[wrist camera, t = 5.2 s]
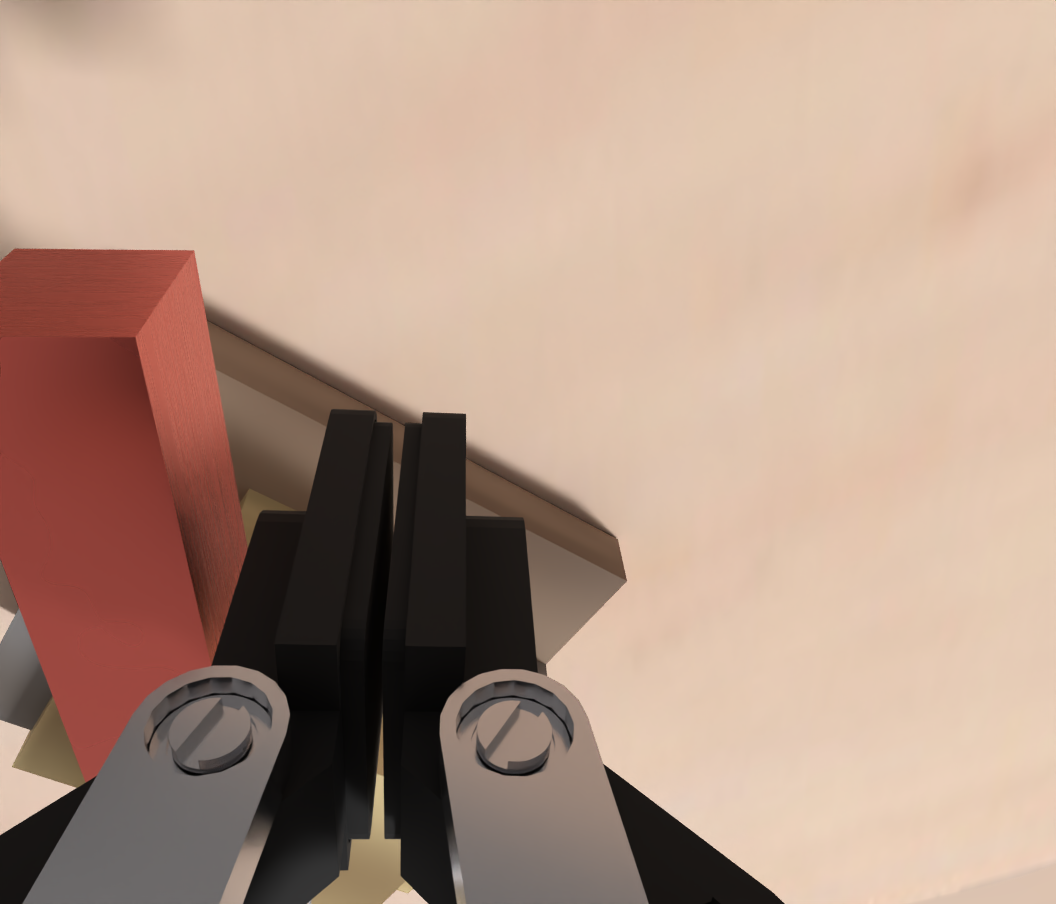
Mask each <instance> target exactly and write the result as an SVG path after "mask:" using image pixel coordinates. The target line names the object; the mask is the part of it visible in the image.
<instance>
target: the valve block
mask: <svg viewBox="0 0 1056 904" xmlns="http://www.w3.org/2000/svg"><path fill="white" fill-rule="evenodd" d="M207 325H208V330H209V336H210V342H211V347H212V353H213V358H214V364H215V369H216V375H217V380H218V386H219V391H220V397H221V402H222V408H223V414H224V419H225V425H226V430H227V436H228V441H229V447H230V452H231V458H232V463H233V469H234V474H235V480H236V485H237V491H238V497H239V502H240V508H241V513H242V519H243V524H244V530H245V535H246V541H247V546H249V543H250V540H251V537H252V533H253V530H254V527H255V524H256V521H257V518H258V516H259V514H260V512H261V511H263V510H281V511H306V510H307V506H308V502H309V498H310V494H311V489H312V485H313V481H314V477H315V473H316V469H317V465H318V461H319V456H320V452H321V448H322V444H323V440H324V436H325V432H326V427H327V423H328V419H329V415H330V412H331V409H351V410H374V409H372V408H370V407H368V406H366V405H364V404H363V403H361V402H359V401H357V400H355V399H353V398H351V397H349V396H348V395H346V394H344V393H342V392H340V391H338V390H336V389H334V388H333V387H331V386H329V385H327V384H325V383H323V382H321V381H319V380H318V379H316V378H314V377H312V376H310V375H308V374H306V373H304V372H303V371H301V370H299V369H297V368H295V367H293V366H291V365H289V364H288V363H286V362H284V361H282V360H280V359H278V358H276V357H274V356H272V355H271V354H269V353H267V352H265V351H263V350H261V349H259V348H257V347H256V346H254V345H252V344H250V343H248V342H246V341H244V340H242V339H241V338H239V337H237V336H235V335H233V334H231V333H229V332H227V331H226V330H224V329H222V328H220V327H218V326H216V325H214V324H212V323H211V322H209V321H207ZM376 413H377V422H392V423H393V502H394V525H395V516H396V506H397V497H398V487H399V478H400V468H401V459H402V449H403V440H404V430H405V426H404V425H402V424H400V423H398V422H396V421H394V420H393V419H391V418H389V417H387V416H385V415H383V414H381V413H379V412H378V411H376ZM466 516H494V517H523V519H524V522H525V530H526V542H527V553H528V565H529V576H530V588H531V599H532V611H533V622H534V634H535V645H536V657H537V668H538V673H539V674H543V675H546V676H547V671H546V664H547V663H548V662H549V661H550V660H551V658H552V657H553V656H554V655H555V654H556V653H557V652H558V651H559V650H560V649H561V648H562V647H563V646H564V645H565V644H566V643H567V642H568V641H569V640H570V639H571V638H572V637H573V636H574V635H575V634H576V633H577V632H578V631H579V630H580V629H581V628H582V627H583V626H584V625H585V624H586V623H587V622H588V620H589V619H590V618H591V617H592V616H593V615H594V614H595V613H596V612H597V611H598V610H599V609H600V608H601V607H602V606H603V605H604V604H605V603H606V602H607V601H608V600H609V599H610V598H611V597H612V596H613V595H614V594H615V593H616V592H617V591H618V590H619V589H620V588H621V587H622V586H623V585H624V584H625V582H626V581H627V579H626V575H625V570H624V566H623V561H622V556H621V552H620V547H619V543H618V539H616V538H614V537H612V536H610V535H608V534H607V533H605V532H603V531H601V530H599V529H597V528H595V527H593V526H592V525H590V524H588V523H586V522H584V521H582V520H580V519H578V518H576V517H575V516H573V515H571V514H569V513H567V512H565V511H563V510H561V509H560V508H558V507H556V506H554V505H552V504H550V503H548V502H546V501H545V500H543V499H541V498H539V497H537V496H535V495H533V494H531V493H530V492H528V491H526V490H524V489H522V488H520V487H518V486H516V485H515V484H513V483H511V482H509V481H507V480H505V479H503V478H501V477H500V476H498V475H496V474H494V473H492V472H490V471H488V470H486V469H485V468H483V467H481V466H479V465H477V464H475V463H473V462H471V461H470V460H468V459H466ZM0 720H2V721H5V722H8V723H11V724H14V725H17V726H20V727H23V728H26V729H29V730H30V731H29V733H28V735H27V737H26V740H25V742H24V744H23V746H22V748H21V750H20V752H19V754H18V756H17V758H16V760H15V762H14V764H13V766H12V767H14V768H17V769H20V770H23V771H26V772H29V773H32V774H36V775H39V776H42V777H45V778H48V779H51V780H54V781H58V782H61V783H64V784H67V785H70V786H73V787H76V788H78V787H79V786H81V785H82V784H84V783H86V782H85V780H84V777H83V775H82V772H81V769H80V767H79V764H78V761H77V759H76V756H75V753H74V751H73V748H72V746H71V743H70V740H69V738H68V735H67V732H66V730H65V727H64V725H63V722H62V719H61V717H60V714H59V711H58V709H57V706H56V704H55V701H54V698H53V696H52V693H51V690H50V688H49V685H48V683H47V680H46V677H45V675H44V672H43V669H42V667H41V664H40V662H39V659H38V656H37V654H36V651H35V648H34V646H33V643H32V641H31V638H30V635H29V633H28V630H27V627H26V625H25V622H24V620H23V617H22V614H21V612H20V609H18V611H17V613H16V615H15V617H14V619H13V620H12V622H11V624H10V626H9V628H8V630H7V632H6V634H5V635H4V637H3V639H2V641H1V643H0ZM400 851H401V839H385V838H384V775H383V714H382V724H381V735H380V745H379V755H378V766H377V776H376V786H375V797H374V807H373V817H372V827H371V835H370V839H352V843H351V851H350V860H349V868H348V870H345V871H340V873H339V877H338V878H337V879H336V880H334V881H333V882H332V883H331V884H330V885H328V886H327V887H326V888H325V889H324V890H322V891H321V892H320V893H319V894H318V895H317V896H315V897H314V898H313V899H312V901H311V904H382V903H383V902H384V901H385V900H386V899H387V898H389V897H390V896H391V895H392V894H393V893H394V892H395V891H396V890H399V891H402V892H405V893H409V892H410V891H411V890H412V889H413V888H412V887H411V886H410V885H409V884H408V883H407V882H406V881H405V880H404V879H403V878H402V877H401V876H400Z"/></svg>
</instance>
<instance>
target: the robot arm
mask: <svg viewBox="0 0 1056 904" xmlns="http://www.w3.org/2000/svg"><path fill="white" fill-rule="evenodd" d="M382 714H383V775H384V838H385V839H401V851H400V876H401V877H402V878H403V879H404V880H405V881H406V882H407V883H408V884H409V885H410V886H411V887H412V888H413V889H414V890H415V891H416V892H417V893H418V894H419V895H420V896H421V897H422V898H423V899H424V900H425V901H426V902H427V903H428V904H784V903H783V902H782V901H781V900H780V899H779V898H778V897H777V896H776V895H775V894H774V893H773V892H771V891H770V890H769V889H768V888H766V887H765V886H764V885H762V884H761V883H760V882H758V881H757V880H756V879H754V878H753V877H752V876H750V875H749V874H748V873H746V872H745V871H744V870H742V869H741V868H740V867H739V866H737V865H736V864H735V863H733V862H732V861H731V860H729V859H728V858H727V857H725V856H724V855H723V854H721V853H720V852H719V851H717V850H716V849H715V848H713V847H712V846H711V845H710V844H708V843H707V842H706V841H704V840H703V839H702V838H700V837H699V836H698V835H696V834H695V833H694V832H692V831H691V830H690V829H688V828H687V827H686V826H684V825H683V824H682V823H681V822H679V821H678V820H677V819H675V818H674V817H673V816H671V815H670V814H669V813H667V812H666V811H665V810H663V809H662V808H661V807H659V806H658V805H657V804H655V803H654V802H653V801H652V800H650V799H649V798H648V797H646V796H645V795H644V794H642V793H641V792H640V791H638V790H637V789H636V788H634V787H633V786H632V785H630V784H629V783H628V782H626V781H625V780H624V779H623V778H621V777H620V776H619V775H617V774H616V773H615V772H613V771H612V770H611V769H609V768H608V767H607V766H605V765H604V764H603V762H602V759H601V756H600V753H599V750H598V747H597V744H596V741H595V738H594V734H593V731H592V728H591V725H590V722H589V719H588V717H587V715H586V713H585V711H584V709H583V707H582V705H581V703H580V701H579V700H578V699H577V698H576V697H575V696H574V695H573V694H572V693H571V692H570V691H569V690H568V689H567V688H566V687H565V686H564V685H562V684H560V683H558V682H557V681H555V680H553V679H551V678H549V677H547V676H546V675H543V674H539V673H538V668H537V657H536V645H535V634H534V622H533V611H532V599H531V588H530V576H529V565H528V553H527V542H526V530H525V522H524V519H523V517H494V516H466V414H456V413H430V412H423V417H422V424H420V423H405V430H404V440H403V449H402V459H401V468H400V478H399V487H398V497H397V506H396V516H395V525H394V502H393V423H392V422H377V413H376V410H351V409H331V412H330V415H329V419H328V423H327V427H326V432H325V436H324V440H323V444H322V448H321V452H320V456H319V461H318V465H317V469H316V473H315V477H314V481H313V485H312V489H311V494H310V498H309V502H308V506H307V510H306V511H281V510H263V511H261V512H260V514H259V516H258V518H257V521H256V524H255V527H254V530H253V533H252V537H251V540H250V543H249V546H248V550H247V553H246V556H245V559H244V562H243V566H242V569H241V572H240V575H239V578H238V582H237V585H236V588H235V591H234V594H233V598H232V601H231V604H230V607H229V610H228V614H227V617H226V620H225V623H224V626H223V630H222V633H221V636H220V639H219V642H218V646H217V649H216V652H215V655H214V658H213V662H212V665H211V666H210V667H205V668H200V669H196V670H191V671H188V672H186V673H184V674H182V675H179V676H177V677H175V678H173V679H170V680H168V681H166V682H165V683H164V684H162V685H161V686H160V687H158V688H157V689H156V690H154V691H153V692H152V693H150V694H149V695H148V696H147V697H146V698H145V699H144V701H143V702H142V703H141V704H140V706H139V707H138V708H137V709H136V711H135V712H134V713H133V715H132V716H131V718H130V720H129V722H128V723H127V725H126V727H125V728H124V730H123V732H122V734H121V735H120V737H119V739H118V740H117V742H116V744H115V746H114V747H113V749H112V751H111V752H110V754H109V756H108V758H107V759H106V761H105V763H104V764H103V766H102V768H101V770H100V771H99V773H98V775H97V776H95V777H94V778H92V779H91V780H89V781H87V782H86V783H84V784H82V785H81V786H79V787H78V788H76V789H74V790H73V791H71V792H69V793H68V794H66V795H65V796H63V797H61V798H60V799H58V800H57V801H55V802H53V803H52V804H50V805H48V806H47V807H45V808H44V809H42V810H40V811H39V812H37V813H35V814H34V815H32V816H31V817H29V818H27V819H26V820H24V821H22V822H21V823H19V824H18V825H16V826H14V827H13V828H11V829H10V830H8V831H6V832H5V833H3V834H1V835H0V904H308V902H309V901H311V900H312V899H313V898H314V897H315V896H317V895H318V894H319V893H320V892H321V891H322V890H324V889H325V888H326V887H327V886H328V885H330V884H331V883H332V882H333V881H334V880H336V879H337V878H338V877H339V873H340V871H345V870H348V868H349V860H350V851H351V843H352V839H370V835H371V827H372V817H373V807H374V797H375V786H376V776H377V766H378V755H379V745H380V735H381V724H382Z"/></svg>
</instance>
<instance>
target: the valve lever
mask: <svg viewBox="0 0 1056 904" xmlns="http://www.w3.org/2000/svg"><path fill="white" fill-rule="evenodd" d="M247 550H248V546H247V541H246V535H245V530H244V524H243V519H242V513H241V508H240V502H239V497H238V491H237V485H236V480H235V474H234V469H233V463H232V458H231V452H230V447H229V441H228V436H227V430H226V425H225V419H224V414H223V408H222V402H221V397H220V391H219V386H218V380H217V375H216V369H215V364H214V358H213V353H212V347H211V342H210V336H209V330H208V325H207V319H206V314H205V308H204V303H203V297H202V292H201V286H200V281H199V275H198V270H197V264H196V259H195V253H194V251H188V250H90V249H14V250H13V251H11V252H10V253H9V254H8V255H7V256H6V257H5V258H4V259H2V260H1V261H0V559H1V562H2V564H3V567H4V570H5V572H6V575H7V578H8V580H9V583H10V585H11V588H12V591H13V593H14V596H15V599H16V601H17V604H18V606H19V609H20V612H21V614H22V617H23V620H24V622H25V625H26V627H27V630H28V633H29V635H30V638H31V641H32V643H33V646H34V648H35V651H36V654H37V656H38V659H39V662H40V664H41V667H42V669H43V672H44V675H45V677H46V680H47V683H48V685H49V688H50V690H51V693H52V696H53V698H54V701H55V704H56V706H57V709H58V711H59V714H60V717H61V719H62V722H63V725H64V727H65V730H66V732H67V735H68V738H69V740H70V743H71V746H72V748H73V751H74V753H75V756H76V759H77V761H78V764H79V767H80V769H81V772H82V775H83V777H84V780H85V782H87V781H89V780H91V779H92V778H94V777H95V776H97V775H98V773H99V771H100V770H101V768H102V766H103V764H104V763H105V761H106V759H107V758H108V756H109V754H110V752H111V751H112V749H113V747H114V746H115V744H116V742H117V740H118V739H119V737H120V735H121V734H122V732H123V730H124V728H125V727H126V725H127V723H128V722H129V720H130V718H131V716H132V715H133V713H134V712H135V711H136V709H137V708H138V707H139V706H140V704H141V703H142V702H143V701H144V699H145V698H146V697H147V696H148V695H149V694H150V693H152V692H153V691H154V690H156V689H157V688H158V687H160V686H161V685H162V684H164V683H165V682H166V681H168V680H170V679H173V678H175V677H177V676H179V675H182V674H184V673H186V672H188V671H191V670H196V669H200V668H205V667H210V666H211V665H212V662H213V658H214V655H215V652H216V649H217V646H218V642H219V639H220V636H221V633H222V630H223V626H224V623H225V620H226V617H227V614H228V610H229V607H230V604H231V601H232V598H233V594H234V591H235V588H236V585H237V582H238V578H239V575H240V572H241V569H242V566H243V562H244V559H245V556H246V553H247ZM311 901H312V900H311ZM311 901H309V902H308V904H311Z"/></svg>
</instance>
